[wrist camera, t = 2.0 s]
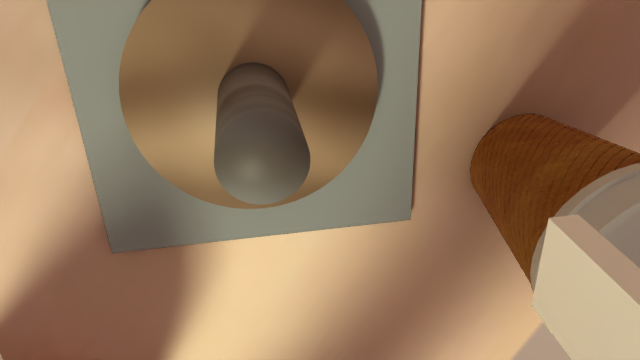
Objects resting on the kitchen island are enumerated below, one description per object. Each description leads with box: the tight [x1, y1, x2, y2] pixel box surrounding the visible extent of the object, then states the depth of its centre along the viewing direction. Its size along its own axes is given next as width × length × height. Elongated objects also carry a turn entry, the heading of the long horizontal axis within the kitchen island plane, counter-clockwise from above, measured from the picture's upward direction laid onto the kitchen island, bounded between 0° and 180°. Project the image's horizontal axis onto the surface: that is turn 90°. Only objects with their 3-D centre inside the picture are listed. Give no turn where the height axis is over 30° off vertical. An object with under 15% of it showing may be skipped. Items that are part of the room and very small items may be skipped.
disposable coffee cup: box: [470, 114, 640, 295], centre depth 27 cm, size 10×10×12 cm
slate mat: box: [47, 0, 422, 253], centre depth 28 cm, size 18×18×1 cm
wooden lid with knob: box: [119, 0, 378, 209], centre depth 23 cm, size 13×13×9 cm
